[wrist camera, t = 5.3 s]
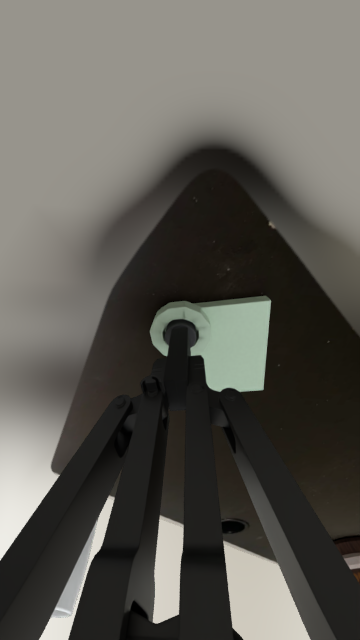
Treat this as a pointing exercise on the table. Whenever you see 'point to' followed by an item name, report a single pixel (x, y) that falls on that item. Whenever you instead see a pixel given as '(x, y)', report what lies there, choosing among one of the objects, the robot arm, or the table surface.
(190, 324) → the button
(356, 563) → the mug
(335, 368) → the table surface
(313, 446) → the table surface
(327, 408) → the table surface
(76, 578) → the drinking glass
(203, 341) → the scale
